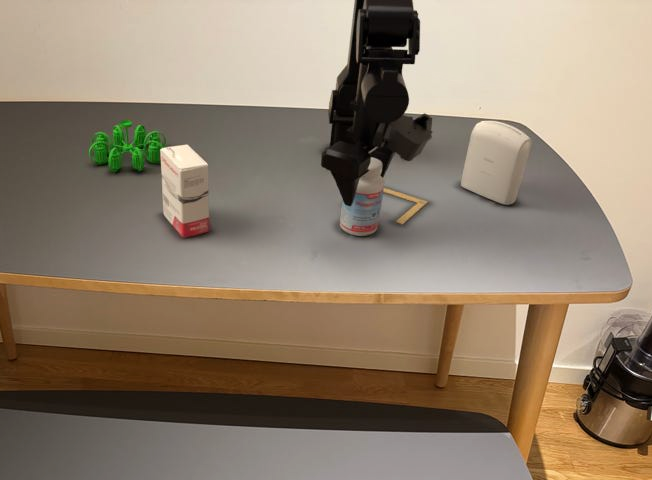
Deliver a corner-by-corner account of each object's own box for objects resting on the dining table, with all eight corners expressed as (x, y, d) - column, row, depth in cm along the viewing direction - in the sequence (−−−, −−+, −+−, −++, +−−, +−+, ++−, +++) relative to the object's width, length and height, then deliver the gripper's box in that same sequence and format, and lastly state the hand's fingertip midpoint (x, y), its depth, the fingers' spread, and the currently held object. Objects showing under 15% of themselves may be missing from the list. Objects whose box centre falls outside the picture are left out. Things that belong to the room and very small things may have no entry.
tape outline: (346, 205, 125) (346, 204, 125) (373, 185, 131) (373, 184, 131) (402, 224, 120) (402, 223, 120) (427, 202, 126) (427, 201, 126)
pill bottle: (354, 240, 116) (362, 175, 109) (332, 223, 121) (339, 159, 113) (385, 231, 119) (395, 166, 111) (362, 215, 123) (371, 151, 115)
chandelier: (78, 150, 142) (74, 114, 137) (152, 136, 146) (149, 101, 142) (103, 182, 131) (98, 146, 127) (180, 167, 136) (179, 131, 132)
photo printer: (455, 186, 131) (470, 118, 123) (470, 179, 133) (486, 112, 125) (505, 208, 124) (524, 138, 116) (520, 200, 127) (540, 131, 119)
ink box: (211, 232, 118) (210, 163, 111) (182, 239, 117) (179, 169, 109) (189, 208, 124) (187, 141, 117) (162, 214, 123) (158, 147, 115)
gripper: (396, 130, 96) (380, 234, 106) (456, 89, 108) (436, 186, 118) (323, 110, 101) (314, 211, 112) (388, 72, 113) (374, 167, 123)
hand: (363, 194), depth 116 cm, fingers open, 9 cm apart
